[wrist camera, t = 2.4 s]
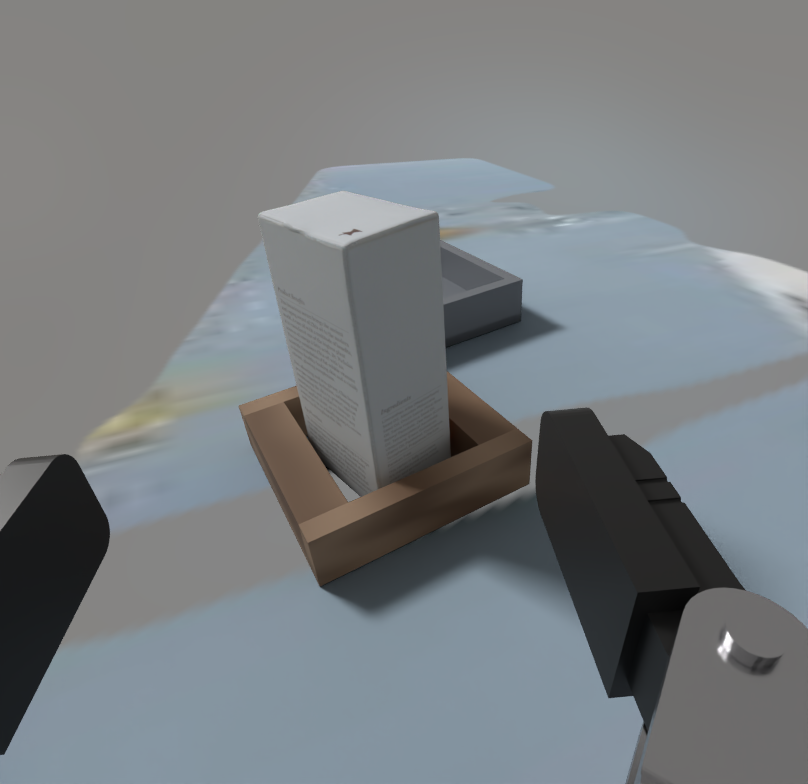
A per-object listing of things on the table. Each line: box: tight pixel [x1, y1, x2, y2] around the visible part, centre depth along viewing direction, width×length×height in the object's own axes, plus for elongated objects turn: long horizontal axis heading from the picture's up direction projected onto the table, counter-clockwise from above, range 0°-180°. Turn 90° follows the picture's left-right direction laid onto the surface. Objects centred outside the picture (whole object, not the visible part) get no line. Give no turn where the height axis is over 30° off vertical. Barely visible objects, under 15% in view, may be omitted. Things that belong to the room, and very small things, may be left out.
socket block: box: [239, 372, 532, 586], centre depth 25 cm, size 10×10×2 cm
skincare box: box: [258, 191, 451, 497], centre depth 22 cm, size 6×4×12 cm
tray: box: [440, 240, 523, 347], centre depth 39 cm, size 11×13×3 cm
